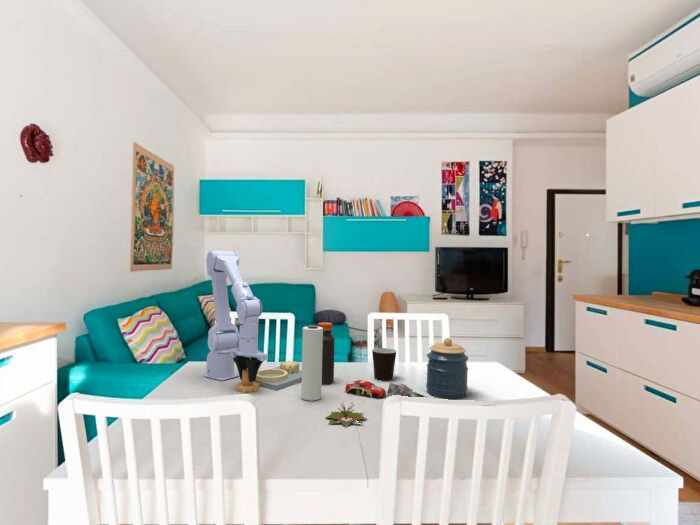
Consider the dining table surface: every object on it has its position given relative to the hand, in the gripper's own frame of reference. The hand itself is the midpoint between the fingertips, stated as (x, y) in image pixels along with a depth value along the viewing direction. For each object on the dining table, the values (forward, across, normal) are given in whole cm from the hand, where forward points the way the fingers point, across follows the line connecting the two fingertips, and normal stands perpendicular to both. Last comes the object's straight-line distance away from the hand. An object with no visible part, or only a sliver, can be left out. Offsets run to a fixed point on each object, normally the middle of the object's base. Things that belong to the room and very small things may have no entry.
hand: (247, 380), depth 135 cm
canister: (+3, +52, +36) cm, 64 cm away
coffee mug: (+3, +28, +40) cm, 49 cm away
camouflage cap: (+3, +48, +17) cm, 51 cm away
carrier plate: (+3, 0, +14) cm, 14 cm away
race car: (+3, +32, +20) cm, 38 cm away
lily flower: (+4, +39, -2) cm, 39 cm away
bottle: (+3, +14, +22) cm, 26 cm away
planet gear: (+3, 0, 0) cm, 3 cm away
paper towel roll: (+3, +21, +6) cm, 22 cm away
